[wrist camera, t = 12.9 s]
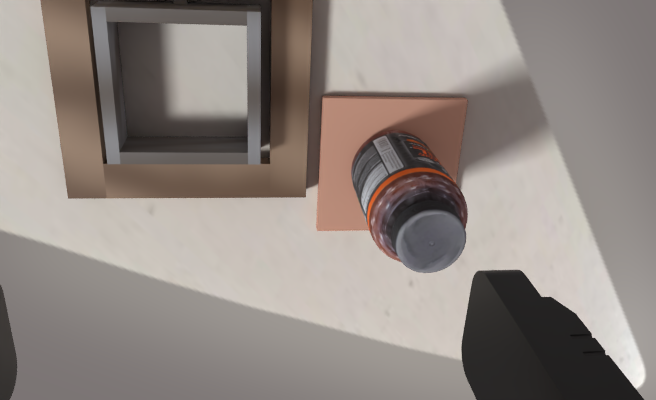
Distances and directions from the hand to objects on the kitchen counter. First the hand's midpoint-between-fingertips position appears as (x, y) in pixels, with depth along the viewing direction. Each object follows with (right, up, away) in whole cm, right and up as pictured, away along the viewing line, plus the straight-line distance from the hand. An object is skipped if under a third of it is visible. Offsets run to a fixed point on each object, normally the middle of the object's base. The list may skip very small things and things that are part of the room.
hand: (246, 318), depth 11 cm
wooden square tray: (-8, +10, +30) cm, 33 cm away
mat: (+6, +5, +34) cm, 35 cm away
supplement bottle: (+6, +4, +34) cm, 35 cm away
